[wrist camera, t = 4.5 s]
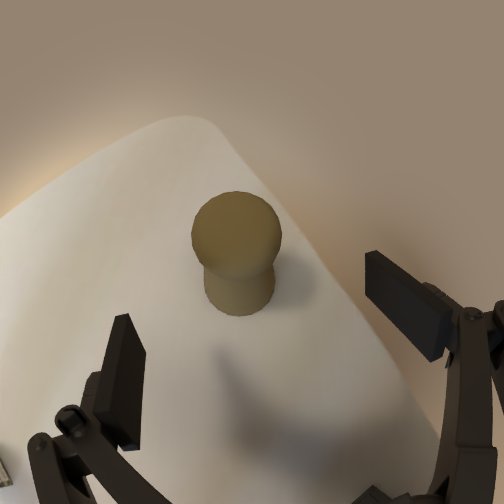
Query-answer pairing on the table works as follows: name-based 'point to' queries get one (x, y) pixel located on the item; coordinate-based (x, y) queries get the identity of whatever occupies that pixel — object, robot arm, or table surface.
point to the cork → (237, 251)
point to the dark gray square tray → (372, 497)
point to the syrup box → (4, 477)
